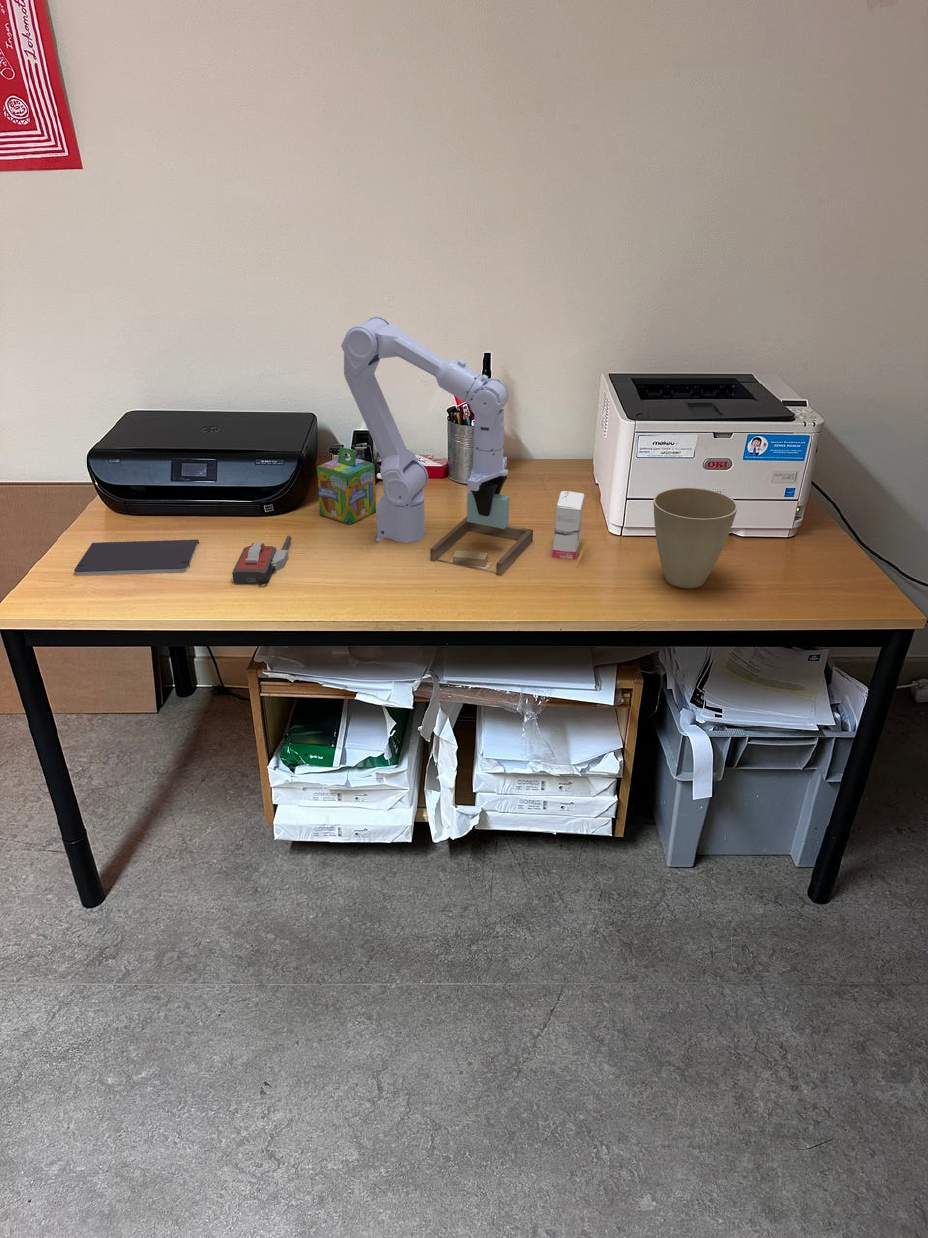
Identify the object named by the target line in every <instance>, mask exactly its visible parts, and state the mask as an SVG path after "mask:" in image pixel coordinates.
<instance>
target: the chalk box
mask: <svg viewBox="0 0 928 1238" xmlns="http://www.w3.org/2000/svg"><path fill="white" fill-rule="evenodd" d="M345 454H347V455H345ZM375 466H376V465H375V463H373V462H370V461H368V460H365V459H361V458H357V450H356V449H351V448H348V447H345V446H344V447H343V446H339V449H338V456H337V458H334V459H332V460H330V461H327V462H324V463H322V464H320V465H317V466H316V471H317V484H318V485H317V487H318V504H319V505H318V506H319V515H320V516H322V517H323V516H324V517H326V518H329V519H332V520H335V521H338V522H341V523H343V524H346V525H349V526H351V525H352V524H355V523H357V522H358V521H360V520H362V519H365V518H366V517H368V516H370V515H372V514H374V513H377V502H376V501H377V500H376V499H377V498H376V472H375V471H376V467H375Z"/></svg>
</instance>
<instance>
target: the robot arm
mask: <svg viewBox="0 0 928 1238" xmlns="http://www.w3.org/2000/svg"><path fill="white" fill-rule="evenodd" d="M344 336H345V337H344V338H343V340H342V343H341V345H340V346H341V350H342V351H343V376H344V378H345V381H346V383H347V386H348V387H349V390H350V392H351V394H352V397H353V398H354V401H355V403H356V405H357V408H358V410H359V412H360V414H361V416H362V417H361V418H362V419H363V421H364V423H365V425H366V428H367V430H368V433H369V434H370V437H371V439H372V442H373V444H374V446H375V448H376V450H377V452H378V454H379V455H378V456H379V457H380V460H381V464H380V465H381V467H380V472H379V473H380V474H379V475H380V477H381V479H382V482H383V483H382V484H383V487H382V488H383V494H384V495H383V496H381V497H380V499H379V500H378V503H377V505H376V524H377V525H376V526H377V527H376V529H377V530H376V531H377V537H376V539H375V541H376V542H379V543H380V542H381V541H382V540H383V539H389V540H392V541H395V542H397V543H402V544H406V543H407V544H411V543H416V542H420V541H422V540H423V539H424V538H425V537H426V532H425V531H426V528H425V527H426V526H425V525H426V521H425V516H426V515H425V494H424V488H425V487H426V486H427V484H428V481H429V473H428V470H427V469H426V467H425V466H424V465H423V464H421V463H420V461H419V460H418V458H417V456H416V454H415V452H413V451H411V450H409V449H408V448H407V446H406V444H405V442H404V440H403V438H402V435H401V433H400V430H399V428H398V425H397V424H396V421H395V420H394V417H393V414H392V412H391V409H390V408H389V406H388V403H387V401H386V398H385V396H384V394H383V391H382V388H381V387H380V384H379V382H378V380H377V377H376V375H375V374H376V373H375V372H376V371H377V369H378V365H379V363H380V360H381V359H388V358H389V359H390V358H395V357H396V358H397V357H398V358H400V359H402V360H404V361H406V362H408V363H409V364H411V365H413V366H415V367H417V368H419V369H421V370H423V371H424V372H426V373H428V374H430V375H432V376H434V377H435V379H436V382H437V386H438V387H439V388H440V389H443V390H444V391H446V392H448V393H449V394H451V395H453V396H454V397H456V398H457V399H459V400H461V401H462V402H464V403H465V404H467V405H469V408H470V410H471V412H472V413H473V414H474V420H473V454H472V455H473V457H472V458H473V459H472V462H473V463H472V468H471V472H470V476H469V478H468V479H467V490H468V491H471V492H472V494H473V496H474V499H475V502H476V506H477V510H478V514H479V515H482V516H489V514H490V511H491V505H492V499H493V495H494V494H500V495H501V491H502V488H503V487H504V484H505V482H506V480H507V479H508V475H509V470H508V469H507V468H506V467H507V465H508V463H507V462H508V458H507V456H504V445H505V444H504V441H505V409H504V407H505V406H506V404H507V403H508V400H509V390H508V388H507V386H506V385H505V383H503V381H501V380H500V379H499V378H496V377H493V378H489V376H488V375H485V374H483V375H482V374H480V373H478V372H477V371H475V370H474V369H472V368H471V367H469V366H468V365H466V364H467V362H466V361H465V360H463V359H459V360H457V359H455V358H453V359H448V360H445V359H444V358H442V357H440V356H439V355H438V354H437V353H435V352H433V351H432V350H430V349H429V348H427V347H426V346H424V345H423V344H422V343H420V342H419V341H417V340H416V339H415V338H413V337H412V336H410V335H409V334H407V333H405V332H404V331H403V330H402V329H401V328H400V326H399V325H397V324H395V323H392V322H390V321H388V320H387V319H386V318H384V317H382V316H373V317H370V318H369V319H368V320H367V321H364V322H362V323H360V324H359V325H355V326H352V327H351V328H350V329H348V331H347V332H346V334H345V335H344Z"/></svg>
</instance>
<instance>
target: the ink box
mask: <svg viewBox="0 0 928 1238" xmlns="http://www.w3.org/2000/svg"><path fill="white" fill-rule="evenodd" d="M584 501H585V493H584V492H583V493H582V492H576V491H569V490H562V491H560V493H559V497H558V500H557V502H556V503H557V504H556V511H555V512H556V513H555V522H554V531H553V539H552V540H553V541H552V550H551V558H555V559H564V560H576V558H577V554H578V552H579V551H578V550H579V545H580V536H581V527H582V522H583V521H582V520H583V511H584Z"/></svg>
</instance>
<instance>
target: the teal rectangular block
mask: <svg viewBox="0 0 928 1238" xmlns="http://www.w3.org/2000/svg"><path fill="white" fill-rule="evenodd" d="M466 498H467V499H466V505H467V506H466V517H467V522H471V523H476V524H481V525H486V526H491V527H496V528H501V529H504V528H505V527H506V526H507V525H510V524H509V523H510V521H509V520H510V499H511V498H510V496H509V495H506V494H505V495H504V494H501V493H500V494H494V495H493V499H492V505H491V511H490V514H489V516H482V515H479V514H478V510H477V506H476V502H475V499H474V496H473V494H472V492H471V490H469V492H467V494H466Z"/></svg>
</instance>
